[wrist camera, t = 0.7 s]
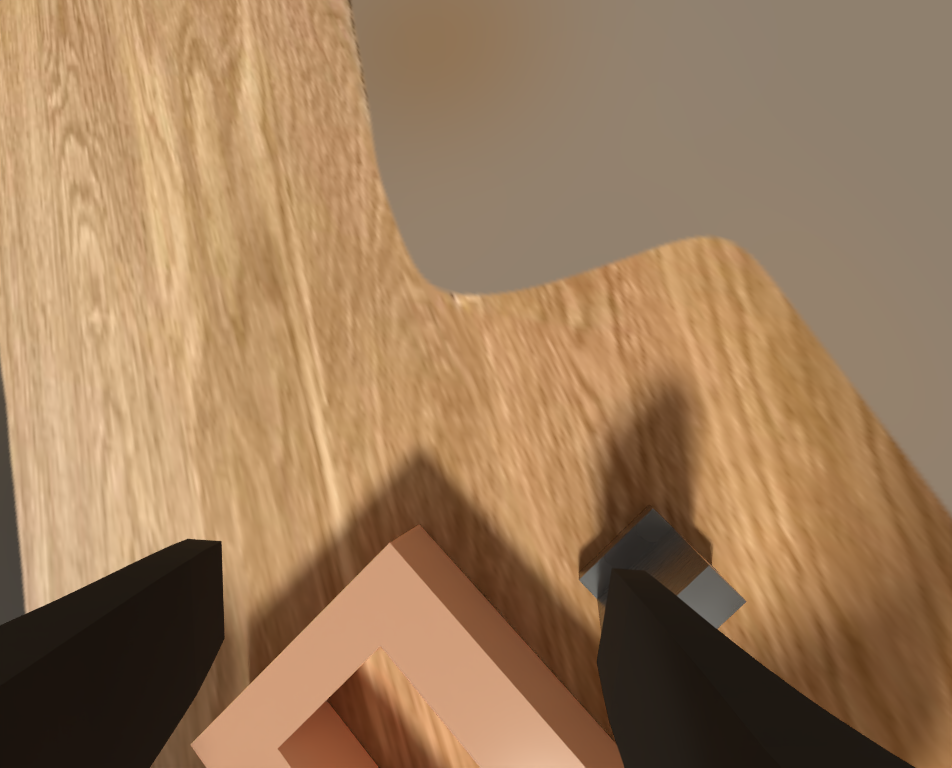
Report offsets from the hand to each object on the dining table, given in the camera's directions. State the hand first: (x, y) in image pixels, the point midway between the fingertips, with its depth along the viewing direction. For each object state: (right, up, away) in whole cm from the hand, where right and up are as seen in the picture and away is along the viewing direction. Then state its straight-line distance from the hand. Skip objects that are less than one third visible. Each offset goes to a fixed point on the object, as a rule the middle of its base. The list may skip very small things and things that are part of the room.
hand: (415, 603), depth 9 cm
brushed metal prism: (+10, -5, +16) cm, 19 cm away
